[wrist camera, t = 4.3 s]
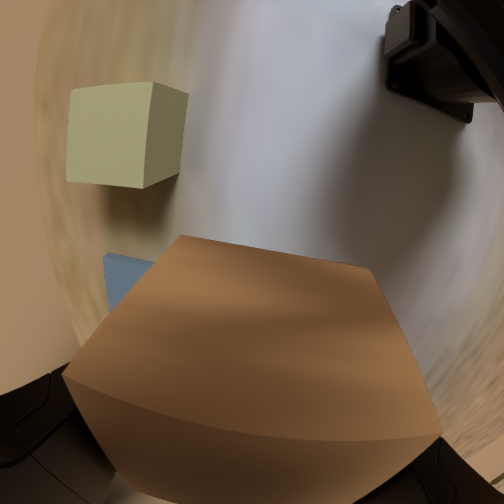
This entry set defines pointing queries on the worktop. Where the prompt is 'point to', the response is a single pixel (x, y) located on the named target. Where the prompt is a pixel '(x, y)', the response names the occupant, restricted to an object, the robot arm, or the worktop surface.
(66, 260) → the worktop surface
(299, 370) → the walnut cube
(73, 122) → the sage cube
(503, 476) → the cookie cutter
